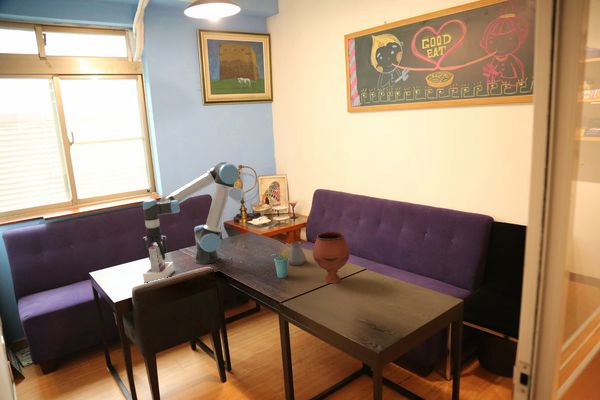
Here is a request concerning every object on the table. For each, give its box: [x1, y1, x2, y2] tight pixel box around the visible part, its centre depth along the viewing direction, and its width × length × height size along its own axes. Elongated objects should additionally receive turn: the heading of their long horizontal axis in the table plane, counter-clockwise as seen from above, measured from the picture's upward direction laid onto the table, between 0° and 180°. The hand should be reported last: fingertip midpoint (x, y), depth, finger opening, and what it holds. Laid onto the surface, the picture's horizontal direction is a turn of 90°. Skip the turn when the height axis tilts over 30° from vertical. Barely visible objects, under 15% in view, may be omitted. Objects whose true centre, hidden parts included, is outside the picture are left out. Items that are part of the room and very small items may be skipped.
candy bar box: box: [148, 241, 166, 272], centre depth 236 cm, size 11×5×16 cm, turn 3°
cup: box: [270, 249, 290, 279], centre depth 225 cm, size 14×8×15 cm, turn 141°
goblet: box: [312, 231, 350, 284], centre depth 215 cm, size 19×19×25 cm
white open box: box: [142, 261, 175, 284], centre depth 238 cm, size 11×17×6 cm, turn 179°
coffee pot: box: [272, 236, 307, 266], centre depth 247 cm, size 21×12×15 cm, turn 60°
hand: (158, 264), depth 237 cm, fingers closed on candy bar box, 5 cm apart
